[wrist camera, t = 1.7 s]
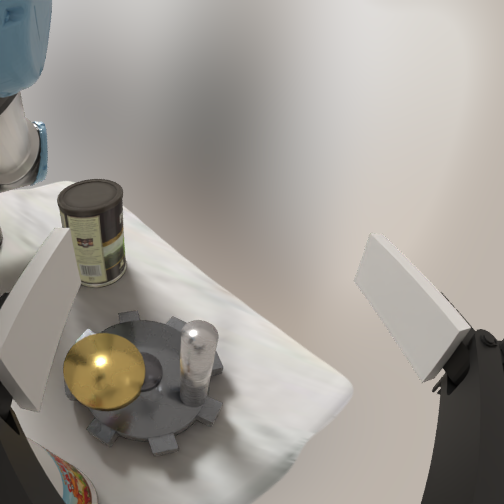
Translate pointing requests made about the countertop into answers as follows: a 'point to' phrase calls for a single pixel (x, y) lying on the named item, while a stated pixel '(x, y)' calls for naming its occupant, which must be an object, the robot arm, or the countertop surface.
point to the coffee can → (95, 229)
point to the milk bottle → (65, 477)
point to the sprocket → (145, 379)
